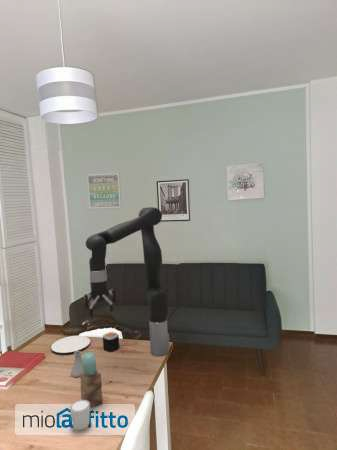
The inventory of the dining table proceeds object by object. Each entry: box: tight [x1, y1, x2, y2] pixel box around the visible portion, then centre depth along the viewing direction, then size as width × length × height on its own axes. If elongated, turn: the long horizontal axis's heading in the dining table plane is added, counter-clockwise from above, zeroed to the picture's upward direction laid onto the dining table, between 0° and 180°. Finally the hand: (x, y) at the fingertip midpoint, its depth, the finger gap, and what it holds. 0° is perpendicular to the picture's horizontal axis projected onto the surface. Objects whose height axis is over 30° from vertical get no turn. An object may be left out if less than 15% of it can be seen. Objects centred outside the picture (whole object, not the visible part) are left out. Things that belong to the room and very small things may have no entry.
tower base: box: [80, 386, 103, 409], centre depth 123 cm, size 7×7×6 cm
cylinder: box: [81, 352, 98, 376], centre depth 121 cm, size 5×5×7 cm
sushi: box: [102, 331, 120, 353], centre depth 167 cm, size 8×8×8 cm
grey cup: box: [69, 399, 91, 431], centre depth 110 cm, size 7×7×7 cm
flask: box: [70, 350, 83, 378], centre depth 144 cm, size 7×7×10 cm
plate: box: [50, 335, 91, 354], centre depth 172 cm, size 21×21×2 cm
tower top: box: [79, 369, 102, 394], centre depth 122 cm, size 6×6×6 cm
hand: (101, 314), depth 142 cm, fingers open, 8 cm apart
